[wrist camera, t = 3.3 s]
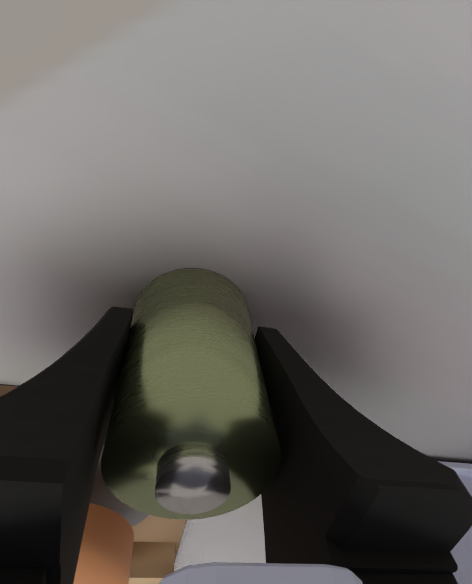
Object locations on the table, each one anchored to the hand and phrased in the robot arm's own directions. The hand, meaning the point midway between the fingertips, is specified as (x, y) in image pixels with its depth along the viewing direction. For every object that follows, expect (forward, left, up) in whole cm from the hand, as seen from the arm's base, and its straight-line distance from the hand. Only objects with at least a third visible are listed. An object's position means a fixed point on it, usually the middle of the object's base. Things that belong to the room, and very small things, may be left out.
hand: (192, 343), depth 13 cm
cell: (0, 0, -1) cm, 1 cm away
